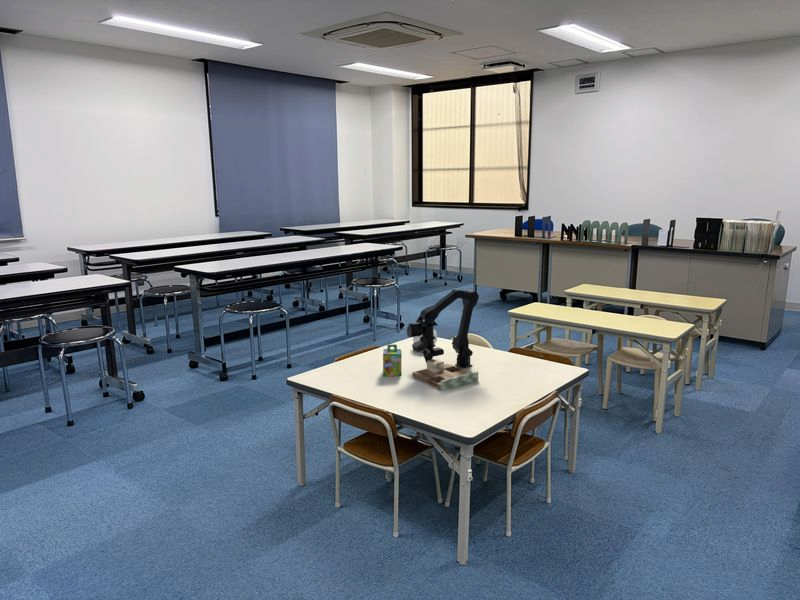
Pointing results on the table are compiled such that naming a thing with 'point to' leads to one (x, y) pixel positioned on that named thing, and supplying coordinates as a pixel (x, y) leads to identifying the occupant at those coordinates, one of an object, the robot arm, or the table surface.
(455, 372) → the board
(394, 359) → the chalk box
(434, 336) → the geodesic sphere
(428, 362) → the block
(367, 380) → the table surface
